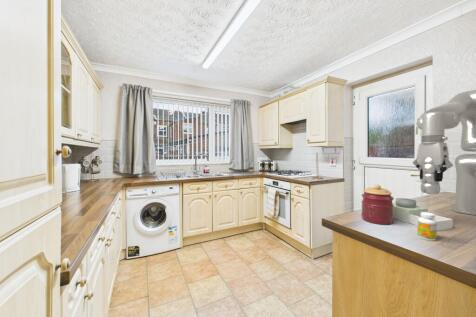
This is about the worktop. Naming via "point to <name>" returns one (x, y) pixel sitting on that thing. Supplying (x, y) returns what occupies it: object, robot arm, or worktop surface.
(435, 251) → the worktop surface
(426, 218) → the supplement bottle
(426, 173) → the silver bottle
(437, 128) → the robot arm
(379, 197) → the canister
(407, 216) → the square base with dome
